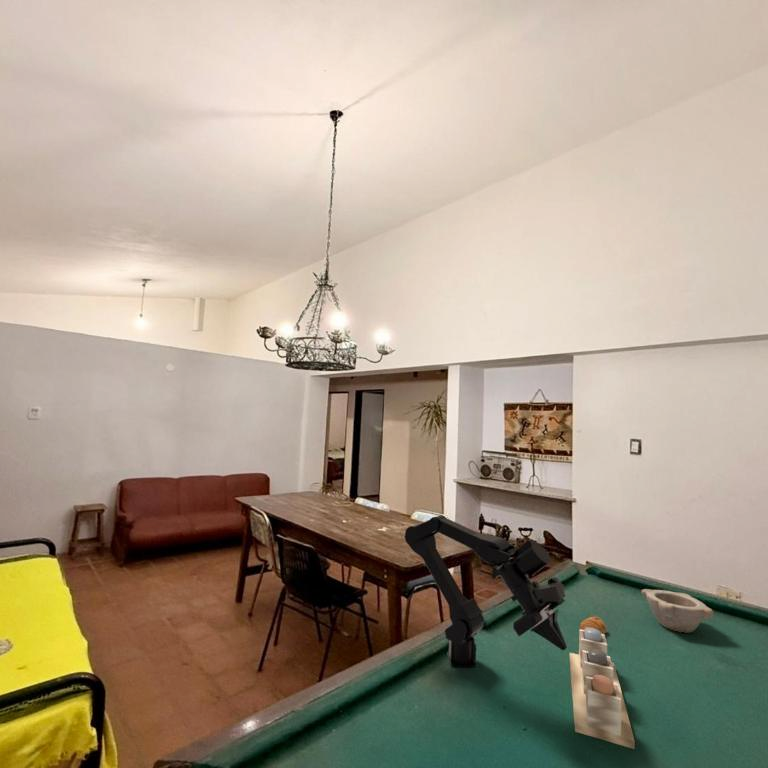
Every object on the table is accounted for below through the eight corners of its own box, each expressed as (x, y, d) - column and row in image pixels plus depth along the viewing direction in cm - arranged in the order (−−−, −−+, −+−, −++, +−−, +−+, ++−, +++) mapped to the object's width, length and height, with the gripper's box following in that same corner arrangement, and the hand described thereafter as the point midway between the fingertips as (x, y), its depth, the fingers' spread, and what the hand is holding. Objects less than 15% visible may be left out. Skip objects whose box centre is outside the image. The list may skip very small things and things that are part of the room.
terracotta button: (593, 704, 90) (593, 682, 91) (591, 694, 94) (591, 672, 95) (614, 710, 89) (614, 688, 89) (611, 699, 93) (612, 677, 93)
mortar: (688, 618, 149) (688, 591, 150) (719, 642, 132) (718, 611, 133) (637, 612, 152) (637, 585, 152) (660, 635, 135) (660, 605, 136)
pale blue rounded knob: (584, 650, 113) (585, 632, 113) (583, 643, 116) (584, 626, 117) (601, 654, 111) (601, 636, 112) (600, 646, 115) (600, 629, 115)
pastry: (595, 641, 129) (595, 628, 129) (573, 632, 134) (573, 620, 135) (608, 632, 135) (608, 620, 135) (587, 624, 140) (587, 612, 141)
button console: (575, 731, 90) (575, 689, 91) (569, 658, 119) (570, 626, 119) (634, 749, 86) (634, 704, 87) (613, 668, 115) (614, 635, 115)
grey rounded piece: (588, 674, 102) (588, 655, 102) (587, 665, 105) (587, 647, 106) (607, 679, 100) (607, 659, 100) (605, 670, 104) (605, 651, 104)
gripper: (527, 577, 96) (578, 647, 87) (557, 559, 109) (603, 619, 101) (494, 602, 100) (539, 671, 92) (526, 582, 114) (568, 641, 106)
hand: (565, 649), depth 98 cm, fingers closed
